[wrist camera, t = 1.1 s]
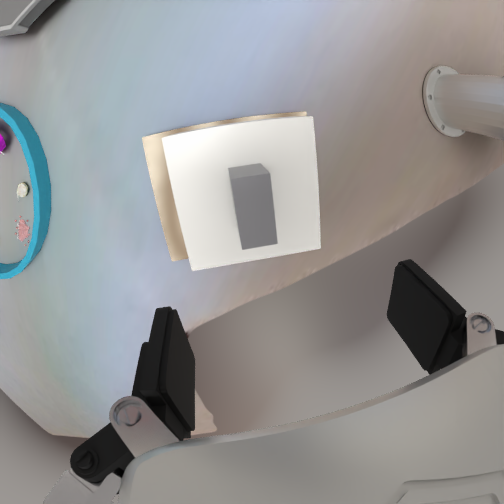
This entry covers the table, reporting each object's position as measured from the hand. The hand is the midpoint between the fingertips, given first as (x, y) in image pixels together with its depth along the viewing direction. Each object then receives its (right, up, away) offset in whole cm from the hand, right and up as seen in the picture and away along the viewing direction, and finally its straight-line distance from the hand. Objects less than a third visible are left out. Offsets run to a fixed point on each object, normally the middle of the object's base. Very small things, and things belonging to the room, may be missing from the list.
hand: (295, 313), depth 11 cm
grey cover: (-3, +11, +22) cm, 25 cm away
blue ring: (-46, +13, +19) cm, 51 cm away
